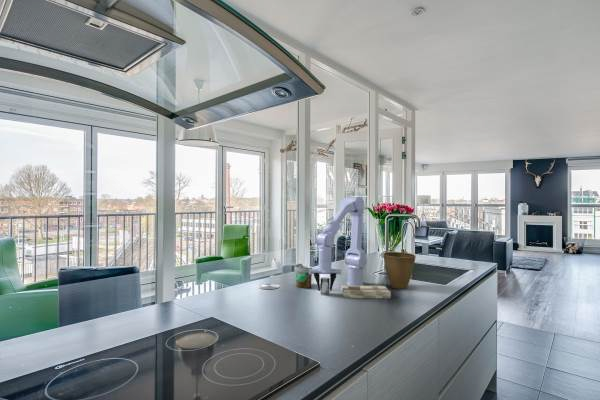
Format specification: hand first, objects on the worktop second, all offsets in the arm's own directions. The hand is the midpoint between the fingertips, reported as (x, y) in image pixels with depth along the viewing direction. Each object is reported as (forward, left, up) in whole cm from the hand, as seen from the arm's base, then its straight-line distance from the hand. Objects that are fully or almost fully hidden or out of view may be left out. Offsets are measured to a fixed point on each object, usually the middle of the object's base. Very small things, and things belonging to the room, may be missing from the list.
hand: (324, 290), depth 142 cm
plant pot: (-13, +37, -2) cm, 39 cm away
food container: (-12, -11, -2) cm, 16 cm away
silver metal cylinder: (0, 0, -2) cm, 2 cm away
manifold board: (0, +18, -2) cm, 18 cm away
